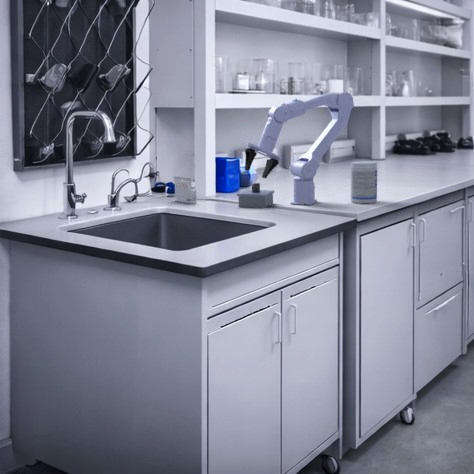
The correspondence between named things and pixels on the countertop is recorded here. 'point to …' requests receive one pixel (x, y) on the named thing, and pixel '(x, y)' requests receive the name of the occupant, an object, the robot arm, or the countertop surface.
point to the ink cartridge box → (184, 190)
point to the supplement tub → (363, 182)
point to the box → (255, 201)
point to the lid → (256, 191)
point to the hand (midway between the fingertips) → (255, 174)
